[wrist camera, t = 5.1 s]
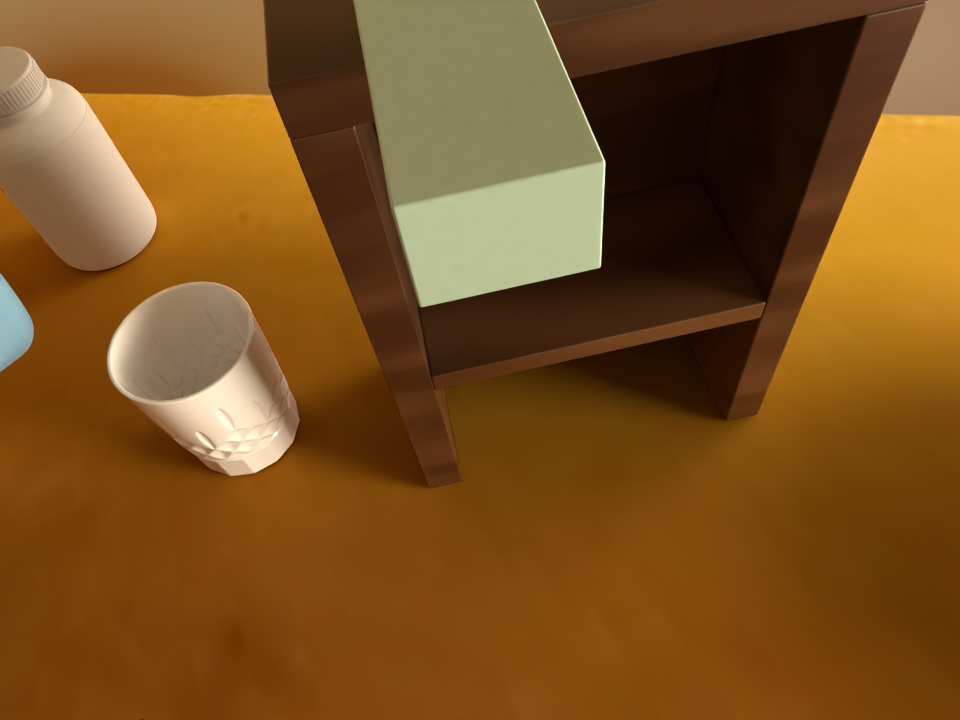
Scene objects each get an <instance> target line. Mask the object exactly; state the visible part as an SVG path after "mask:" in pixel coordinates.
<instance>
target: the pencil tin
mask: <svg viewBox="0 0 960 720" xmlns="http://www.w3.org/2000/svg"><path fill="white" fill-rule="evenodd" d="M353 2H354V7H355V13H356V18H357V24H358V29H359V35H360V40H361V46H362V51H363V57H364V62H365V68H366V74H367V79H368V85H369V90H370V96H371V101H372V107H373V112H374V118H375V123H376V129H377V134H378V140H379V146H380V151H381V157H382V162H383V168H384V173H385V179H386V184H387V190H388V195H389V201H390V206H391V211H392V214H393V218H394V221H395V225H396V228H397V232H398V235H399V239H400V242H401V246H402V249H403V253H404V256H405V260H406V263H407V267H408V270H409V274H410V277H411V281H412V284H413V288H414V291H415V295H416V298H417V302H418V305H419V306H420V307H426V306H431V305H435V304H440V303H444V302H449V301H453V300H458V299H462V298H467V297H471V296H476V295H480V294H485V293H489V292H494V291H498V290H503V289H507V288H512V287H516V286H521V285H525V284H530V283H534V282H539V281H543V280H548V279H552V278H557V277H561V276H566V275H570V274H575V273H579V272H584V271H588V270H593V269H597V268H600V267H601V252H602V229H603V206H604V183H605V160H604V158H603V155H602V153H601V151H600V148H599V146H598V144H597V141H596V139H595V137H594V134H593V132H592V130H591V127H590V125H589V123H588V120H587V118H586V116H585V113H584V111H583V109H582V107H581V104H580V102H579V100H578V97H577V95H576V93H575V90H574V88H573V86H572V83H571V81H570V79H569V76H568V74H567V72H566V69H565V67H564V65H563V63H562V60H561V58H560V56H559V53H558V51H557V49H556V46H555V44H554V42H553V39H552V37H551V35H550V32H549V30H548V28H547V25H546V23H545V21H544V18H543V16H542V14H541V12H540V9H539V7H538V5H537V2H536V0H353Z"/></svg>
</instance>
